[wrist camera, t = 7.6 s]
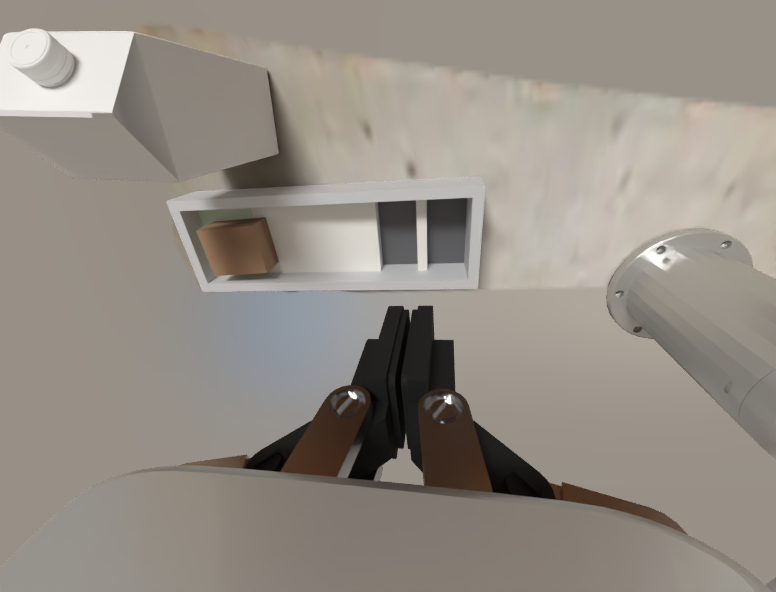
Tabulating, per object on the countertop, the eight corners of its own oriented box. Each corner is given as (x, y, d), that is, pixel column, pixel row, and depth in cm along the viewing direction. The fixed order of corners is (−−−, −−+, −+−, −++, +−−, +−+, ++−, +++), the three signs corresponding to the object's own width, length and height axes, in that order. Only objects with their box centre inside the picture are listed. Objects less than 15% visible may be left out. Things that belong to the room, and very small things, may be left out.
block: (265, 217, 33) (251, 225, 31) (279, 261, 36) (267, 273, 33) (213, 221, 34) (195, 230, 32) (230, 264, 37) (214, 276, 34)
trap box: (478, 175, 31) (485, 185, 27) (472, 269, 36) (477, 289, 32) (195, 191, 35) (165, 201, 31) (224, 274, 40) (202, 291, 36)
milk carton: (280, 154, 32) (124, 198, 16) (213, 152, 33) (-5, 193, 16) (268, 67, 28) (49, 6, 12) (192, 67, 29) (-112, 8, 13)
